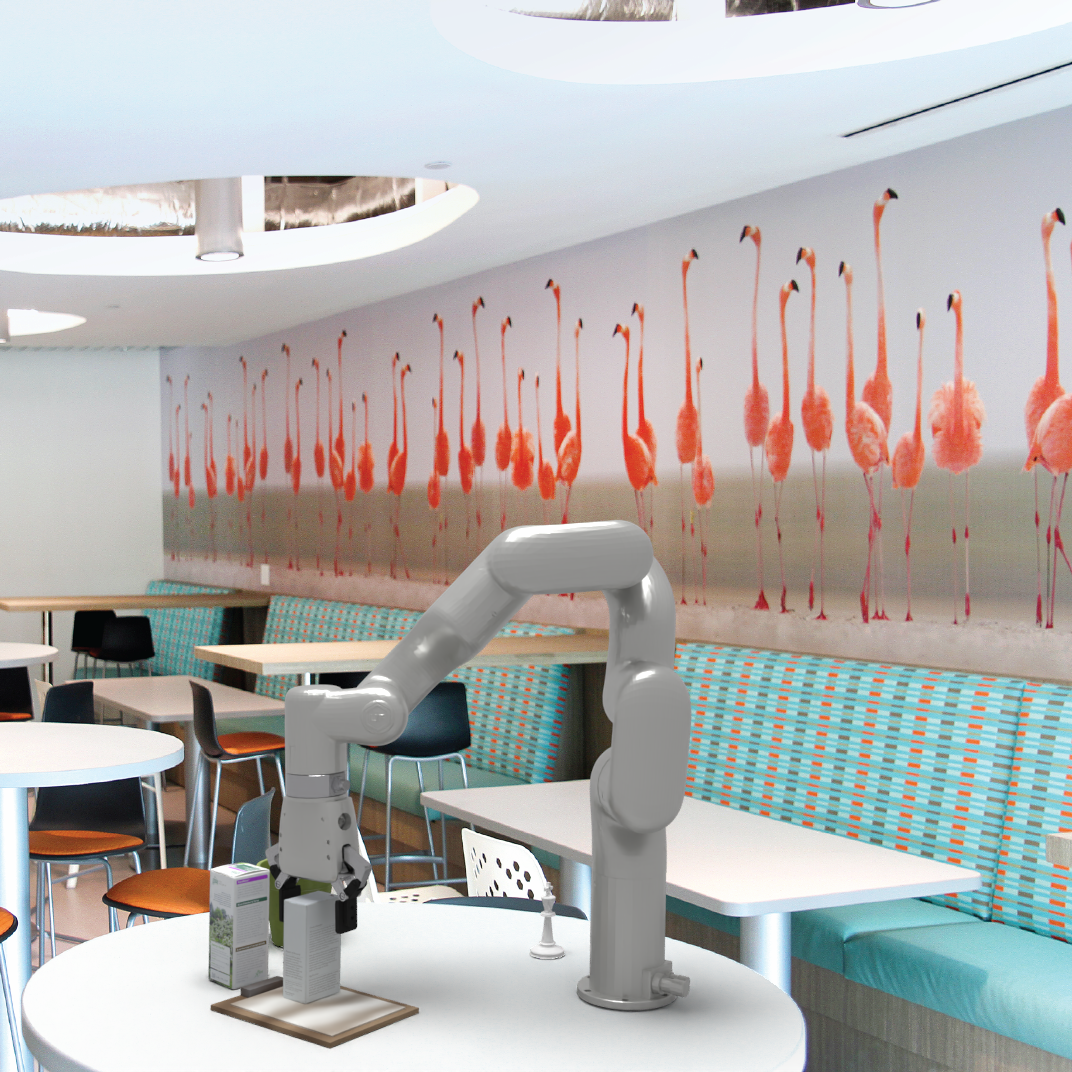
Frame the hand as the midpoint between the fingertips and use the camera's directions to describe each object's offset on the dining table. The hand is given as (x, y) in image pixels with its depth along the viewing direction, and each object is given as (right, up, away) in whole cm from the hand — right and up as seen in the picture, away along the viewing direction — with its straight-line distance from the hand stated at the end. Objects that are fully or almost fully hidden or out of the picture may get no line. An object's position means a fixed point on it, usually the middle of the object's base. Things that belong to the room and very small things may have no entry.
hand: (317, 925), depth 160 cm
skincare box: (-1, -9, 0) cm, 9 cm away
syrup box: (-12, -10, +7) cm, 17 cm away
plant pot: (-7, -10, +25) cm, 28 cm away
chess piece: (+28, -11, +22) cm, 37 cm away
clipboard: (0, -9, -4) cm, 10 cm away
